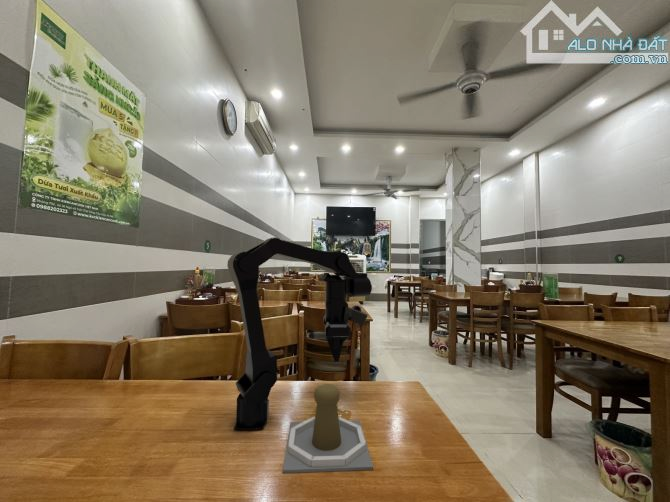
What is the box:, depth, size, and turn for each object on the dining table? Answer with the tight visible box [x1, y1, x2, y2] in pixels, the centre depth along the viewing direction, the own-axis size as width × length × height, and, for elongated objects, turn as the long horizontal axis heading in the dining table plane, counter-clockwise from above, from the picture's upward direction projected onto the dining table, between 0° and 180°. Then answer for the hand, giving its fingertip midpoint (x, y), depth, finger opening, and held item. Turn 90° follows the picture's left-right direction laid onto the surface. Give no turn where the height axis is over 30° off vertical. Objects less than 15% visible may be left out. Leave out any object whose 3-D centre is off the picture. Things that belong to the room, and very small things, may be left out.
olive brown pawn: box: [312, 383, 341, 451], centre depth 60 cm, size 6×6×11 cm
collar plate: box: [282, 416, 374, 474], centre depth 60 cm, size 16×16×2 cm
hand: (335, 355), depth 79 cm, fingers open, 9 cm apart
